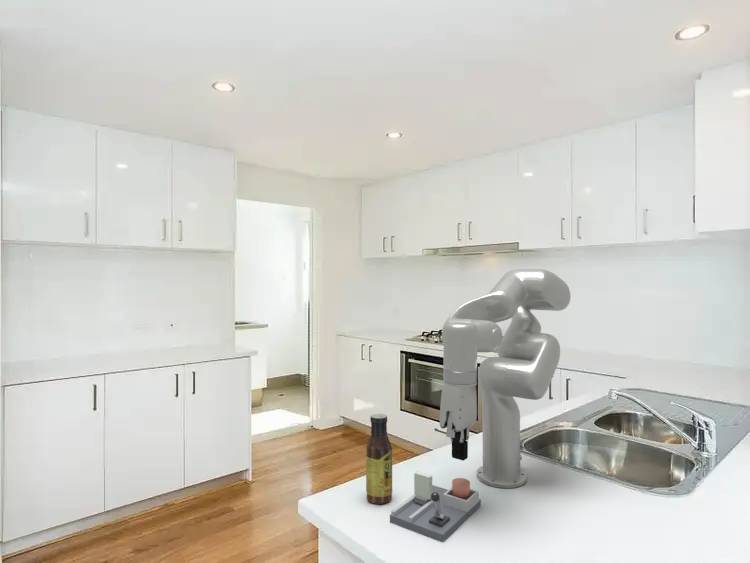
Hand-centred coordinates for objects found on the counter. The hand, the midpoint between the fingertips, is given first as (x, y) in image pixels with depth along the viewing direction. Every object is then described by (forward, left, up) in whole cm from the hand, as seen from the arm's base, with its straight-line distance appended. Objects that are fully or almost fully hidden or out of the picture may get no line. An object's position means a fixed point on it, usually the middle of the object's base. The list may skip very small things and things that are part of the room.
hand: (459, 458), depth 106 cm
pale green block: (+4, -7, -10) cm, 13 cm away
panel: (+4, -3, -12) cm, 13 cm away
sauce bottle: (+6, -18, -12) cm, 23 cm away
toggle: (+9, 0, -9) cm, 13 cm away
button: (-1, 0, -9) cm, 9 cm away
